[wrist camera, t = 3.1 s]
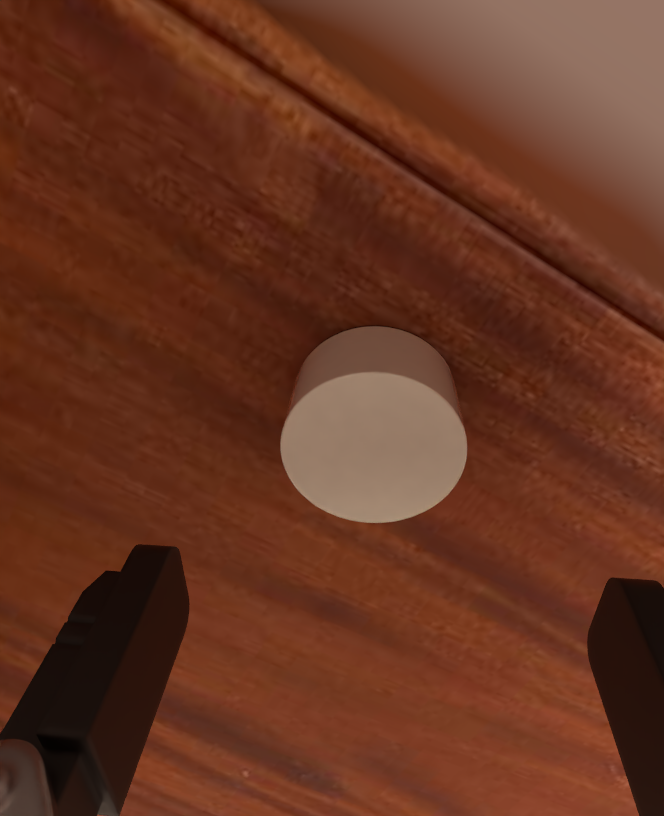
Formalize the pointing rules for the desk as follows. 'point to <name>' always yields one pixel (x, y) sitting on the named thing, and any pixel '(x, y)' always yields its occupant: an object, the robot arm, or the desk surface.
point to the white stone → (374, 426)
